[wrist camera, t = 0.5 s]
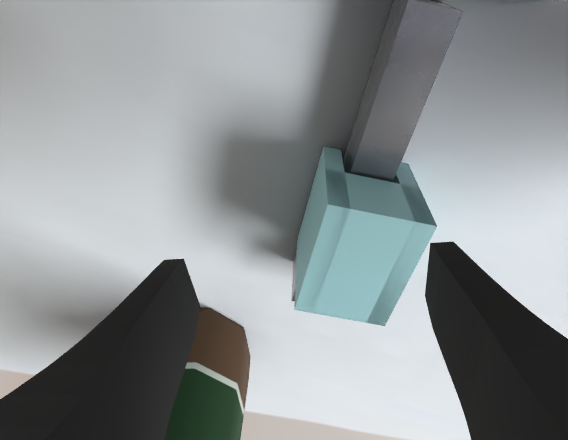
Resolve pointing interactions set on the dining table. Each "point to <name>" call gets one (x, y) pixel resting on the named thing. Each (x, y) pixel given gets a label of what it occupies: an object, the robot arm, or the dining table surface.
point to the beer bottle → (212, 382)
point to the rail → (397, 88)
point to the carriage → (359, 241)
